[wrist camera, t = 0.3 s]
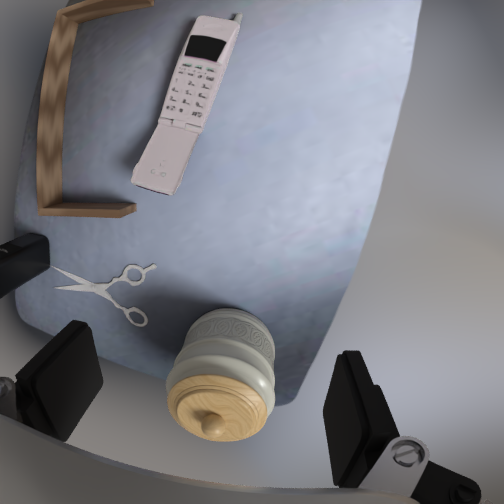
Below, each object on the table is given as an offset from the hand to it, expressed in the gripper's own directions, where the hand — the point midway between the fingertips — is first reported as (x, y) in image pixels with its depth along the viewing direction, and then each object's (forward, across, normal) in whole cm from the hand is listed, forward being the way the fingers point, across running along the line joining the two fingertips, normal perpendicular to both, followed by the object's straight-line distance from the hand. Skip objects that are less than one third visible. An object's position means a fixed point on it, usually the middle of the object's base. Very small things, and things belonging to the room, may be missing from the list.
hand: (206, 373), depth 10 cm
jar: (+30, +2, +19) cm, 35 cm away
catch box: (+29, +23, -16) cm, 40 cm away
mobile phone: (+30, +8, -16) cm, 35 cm away
